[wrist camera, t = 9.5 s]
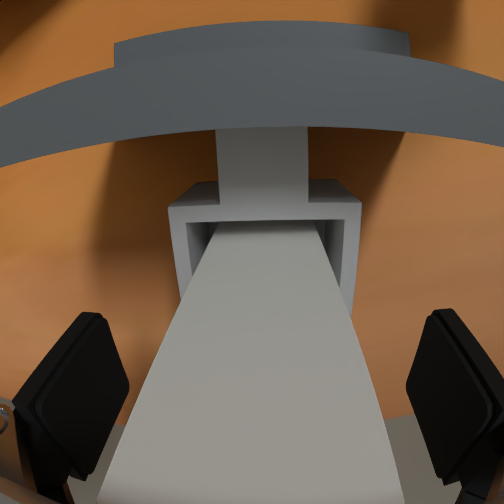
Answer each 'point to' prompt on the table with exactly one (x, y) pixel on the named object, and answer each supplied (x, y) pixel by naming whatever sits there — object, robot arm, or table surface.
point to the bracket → (258, 118)
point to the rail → (257, 386)
